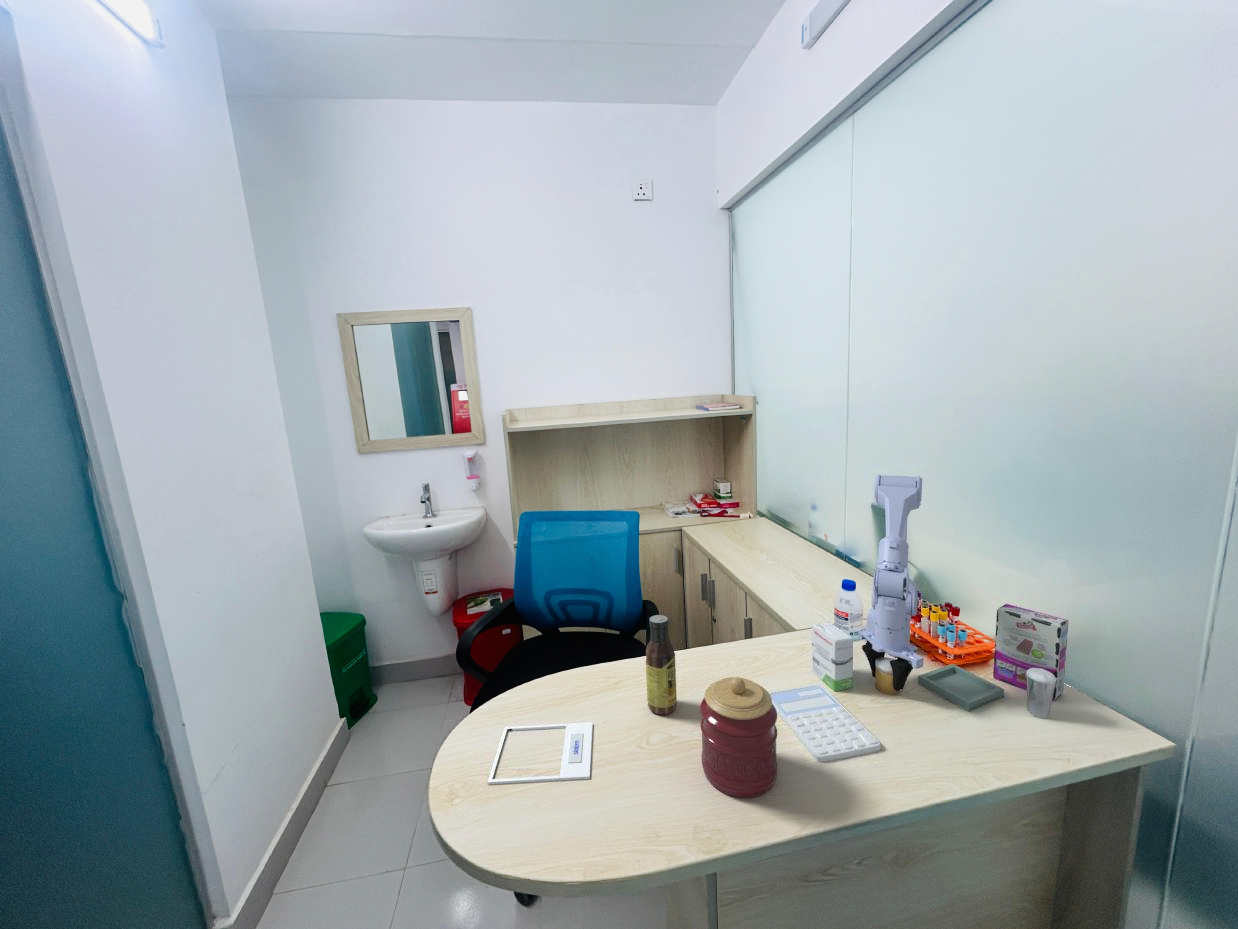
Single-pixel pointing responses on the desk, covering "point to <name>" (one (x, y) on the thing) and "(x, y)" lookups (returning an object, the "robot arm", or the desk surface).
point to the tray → (961, 687)
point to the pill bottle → (884, 676)
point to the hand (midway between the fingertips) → (887, 682)
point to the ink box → (832, 656)
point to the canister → (739, 737)
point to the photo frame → (573, 756)
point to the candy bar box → (1029, 646)
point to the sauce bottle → (660, 668)
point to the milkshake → (1040, 691)
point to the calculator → (823, 724)
